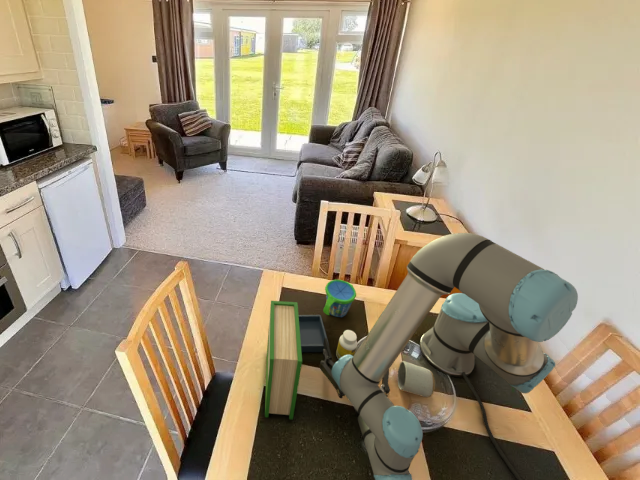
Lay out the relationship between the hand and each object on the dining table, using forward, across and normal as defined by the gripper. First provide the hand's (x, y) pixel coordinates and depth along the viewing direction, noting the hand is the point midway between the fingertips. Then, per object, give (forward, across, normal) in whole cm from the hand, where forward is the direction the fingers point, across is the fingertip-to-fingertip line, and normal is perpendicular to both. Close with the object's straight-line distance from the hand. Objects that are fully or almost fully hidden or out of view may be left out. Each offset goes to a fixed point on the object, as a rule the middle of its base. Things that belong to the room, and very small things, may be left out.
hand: (346, 340), depth 98 cm
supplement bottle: (-1, 0, -6) cm, 6 cm away
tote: (+7, -11, -6) cm, 14 cm away
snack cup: (+17, +3, -6) cm, 19 cm away
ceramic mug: (-10, +17, -6) cm, 21 cm away
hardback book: (-10, -22, -6) cm, 25 cm away
